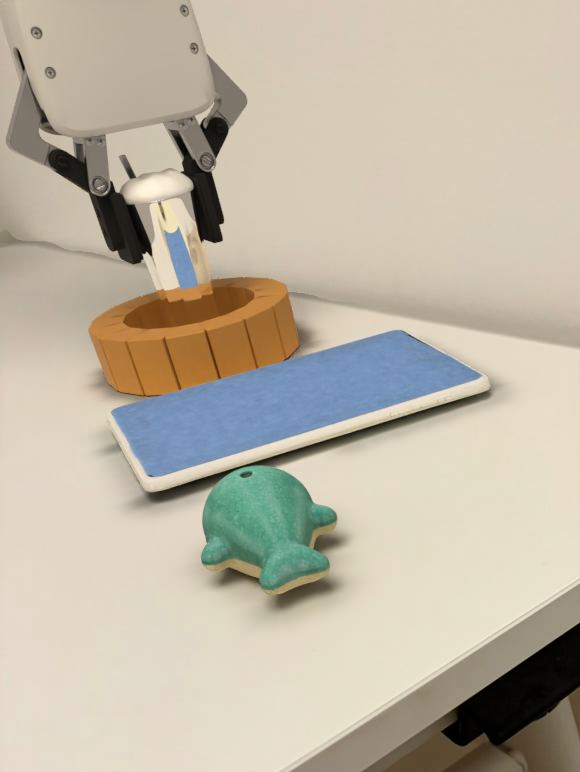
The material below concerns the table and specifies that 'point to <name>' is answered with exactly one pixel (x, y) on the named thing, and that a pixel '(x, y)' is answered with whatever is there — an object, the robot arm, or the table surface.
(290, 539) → the whale figurine
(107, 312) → the segmented bracelet
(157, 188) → the milkshake
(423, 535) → the table surface
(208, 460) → the tablet
